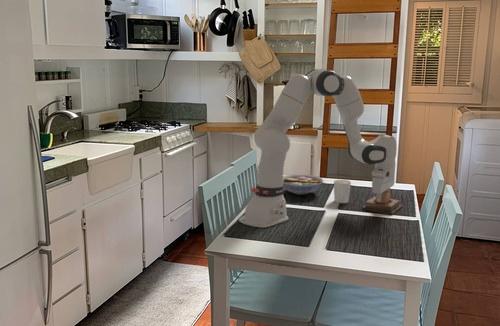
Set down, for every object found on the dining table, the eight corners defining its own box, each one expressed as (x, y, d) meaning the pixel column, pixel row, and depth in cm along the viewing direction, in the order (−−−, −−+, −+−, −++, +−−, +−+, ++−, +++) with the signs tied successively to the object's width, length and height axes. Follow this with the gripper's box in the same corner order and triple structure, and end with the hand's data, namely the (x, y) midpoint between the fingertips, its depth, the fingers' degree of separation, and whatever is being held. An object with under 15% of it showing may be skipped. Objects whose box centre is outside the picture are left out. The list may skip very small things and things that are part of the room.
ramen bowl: (325, 188, 254) (325, 173, 252) (325, 200, 232) (326, 184, 230) (278, 186, 258) (278, 171, 256) (274, 198, 235) (274, 182, 234)
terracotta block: (385, 208, 217) (386, 193, 216) (375, 206, 220) (376, 192, 219) (389, 206, 221) (390, 191, 220) (378, 204, 224) (379, 189, 223)
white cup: (348, 199, 235) (349, 179, 233) (350, 204, 227) (351, 183, 225) (332, 198, 235) (333, 179, 233) (333, 203, 228) (334, 183, 226)
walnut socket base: (392, 215, 211) (392, 207, 211) (362, 209, 219) (362, 202, 218) (401, 207, 223) (402, 200, 222) (373, 202, 230) (373, 195, 230)
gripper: (385, 165, 227) (383, 193, 230) (370, 173, 211) (368, 202, 214) (399, 166, 224) (396, 195, 227) (384, 175, 207) (381, 205, 210)
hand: (382, 199), depth 220 cm, fingers open, 8 cm apart
